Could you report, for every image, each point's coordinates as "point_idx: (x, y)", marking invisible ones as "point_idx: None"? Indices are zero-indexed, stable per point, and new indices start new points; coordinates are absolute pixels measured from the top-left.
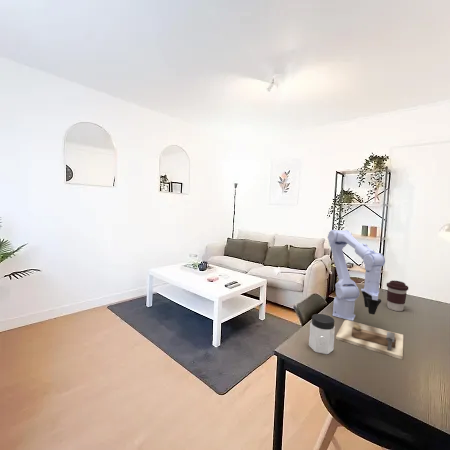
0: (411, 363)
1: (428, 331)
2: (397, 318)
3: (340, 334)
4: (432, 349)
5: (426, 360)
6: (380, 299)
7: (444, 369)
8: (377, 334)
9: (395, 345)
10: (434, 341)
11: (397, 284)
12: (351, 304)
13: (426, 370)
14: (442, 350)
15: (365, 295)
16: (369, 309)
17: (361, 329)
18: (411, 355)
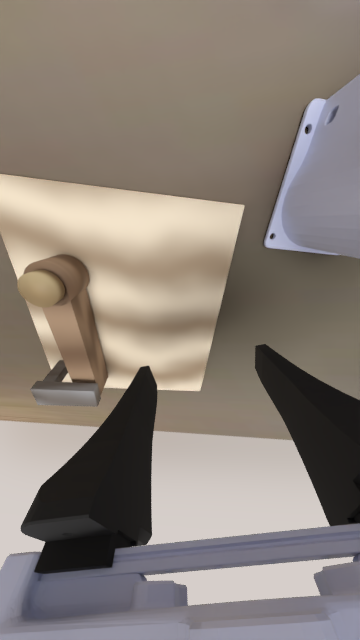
0: None
1: (267, 421)
2: (338, 378)
3: (25, 197)
4: (170, 419)
5: (105, 410)
6: (144, 544)
7: (92, 425)
8: (73, 356)
9: (111, 375)
10: (215, 424)
11: None
12: (354, 240)
13: (57, 407)
14: (177, 429)
15: (324, 432)
16: (129, 392)
17: (65, 304)
18: (104, 392)
